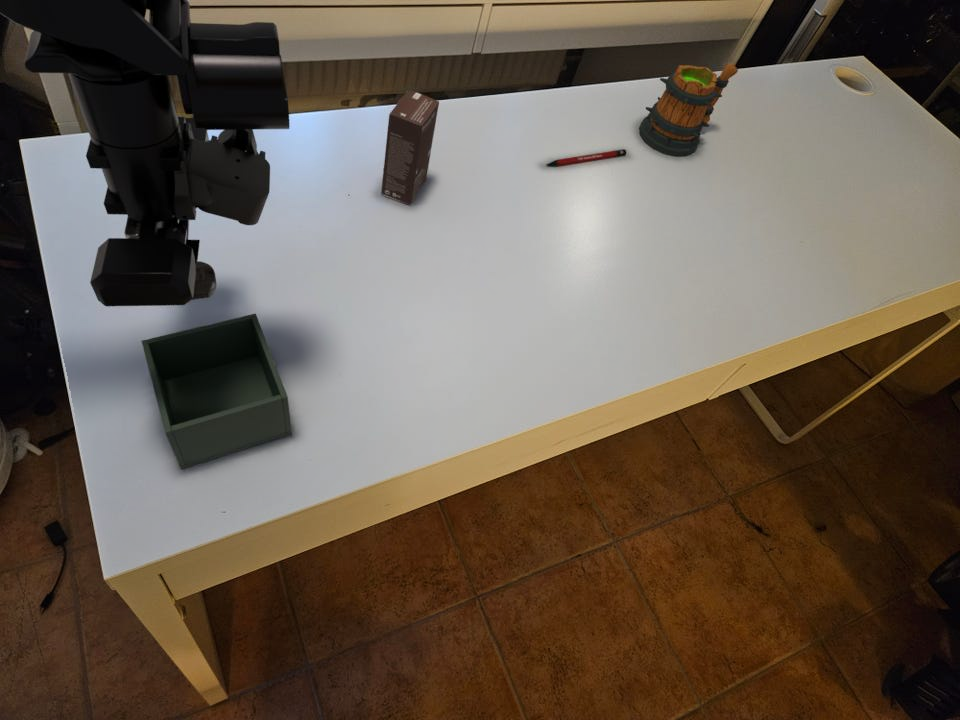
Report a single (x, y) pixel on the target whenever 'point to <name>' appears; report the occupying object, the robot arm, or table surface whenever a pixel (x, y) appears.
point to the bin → (217, 389)
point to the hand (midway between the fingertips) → (178, 278)
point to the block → (204, 281)
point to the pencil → (587, 158)
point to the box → (408, 146)
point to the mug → (684, 109)
